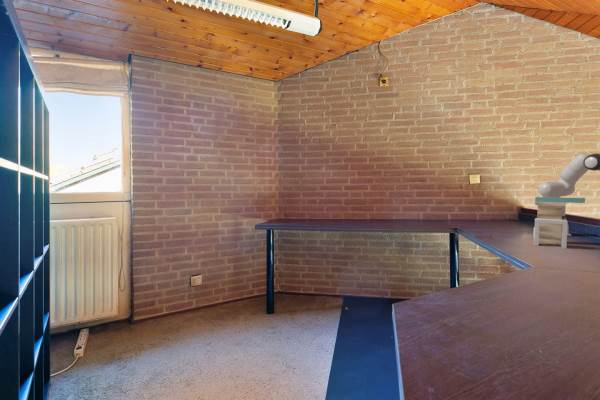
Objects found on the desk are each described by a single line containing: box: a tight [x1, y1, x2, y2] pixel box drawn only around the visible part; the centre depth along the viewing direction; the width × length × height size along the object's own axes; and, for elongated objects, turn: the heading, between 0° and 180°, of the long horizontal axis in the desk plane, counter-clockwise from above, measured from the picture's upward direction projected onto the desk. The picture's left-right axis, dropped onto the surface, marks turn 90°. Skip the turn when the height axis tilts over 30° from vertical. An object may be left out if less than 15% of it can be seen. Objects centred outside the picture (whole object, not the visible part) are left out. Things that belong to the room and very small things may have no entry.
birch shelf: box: [534, 201, 567, 245], centre depth 199 cm, size 8×15×26 cm, turn 54°
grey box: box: [533, 217, 569, 249], centre depth 189 cm, size 8×15×16 cm, turn 54°
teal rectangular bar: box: [534, 196, 586, 204], centre depth 196 cm, size 3×24×3 cm, turn 54°
